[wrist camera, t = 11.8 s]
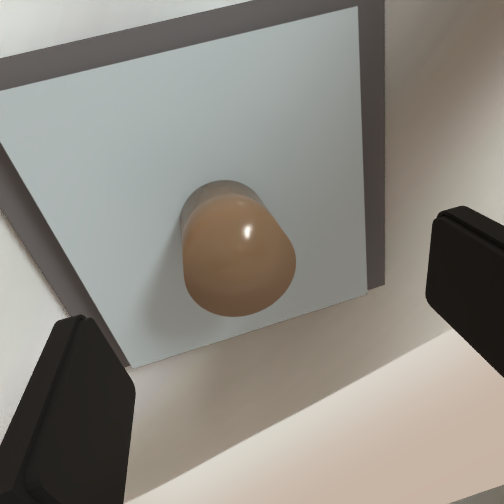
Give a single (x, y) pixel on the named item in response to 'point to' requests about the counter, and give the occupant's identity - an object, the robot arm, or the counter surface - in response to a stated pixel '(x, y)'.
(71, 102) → the lid
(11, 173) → the mat
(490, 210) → the counter surface
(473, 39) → the counter surface
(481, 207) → the counter surface
